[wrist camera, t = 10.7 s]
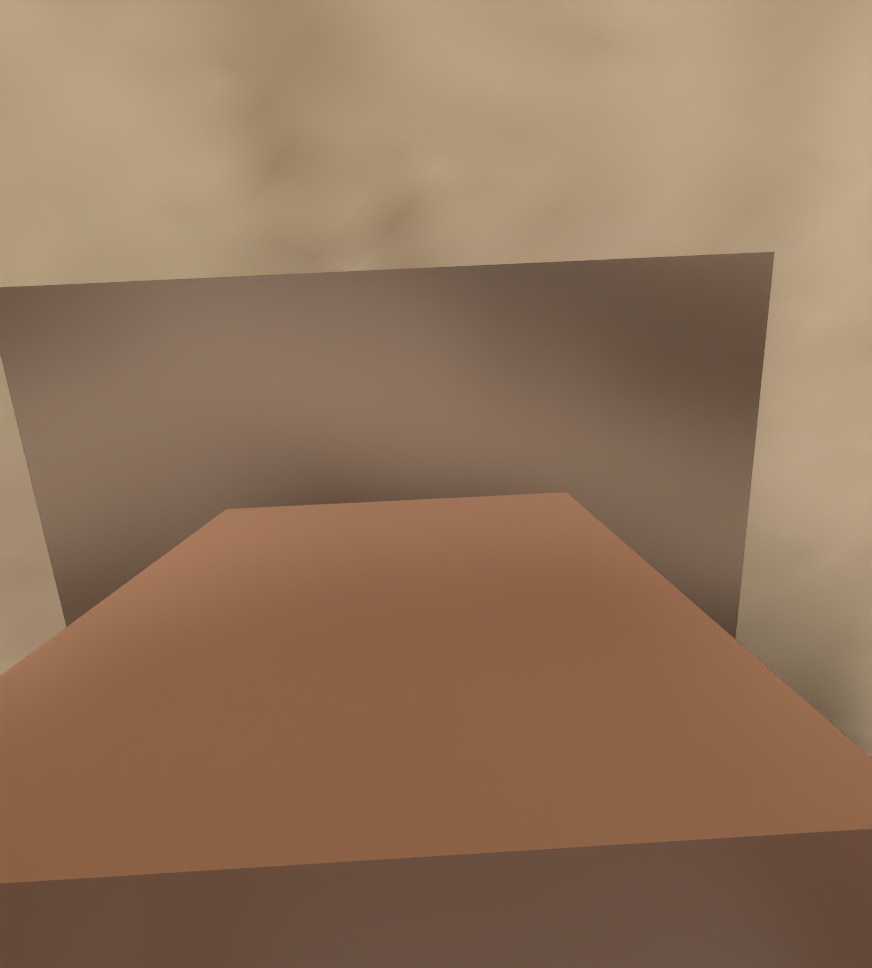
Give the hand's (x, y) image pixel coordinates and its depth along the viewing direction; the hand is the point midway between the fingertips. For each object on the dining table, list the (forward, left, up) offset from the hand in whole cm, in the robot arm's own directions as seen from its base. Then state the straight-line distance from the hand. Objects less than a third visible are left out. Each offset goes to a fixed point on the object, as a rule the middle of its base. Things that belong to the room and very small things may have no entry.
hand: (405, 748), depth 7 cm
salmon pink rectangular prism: (0, 0, -2) cm, 2 cm away
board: (0, 0, -4) cm, 4 cm away
